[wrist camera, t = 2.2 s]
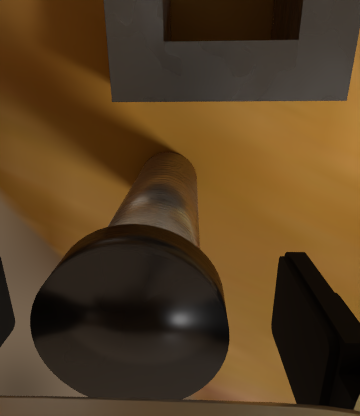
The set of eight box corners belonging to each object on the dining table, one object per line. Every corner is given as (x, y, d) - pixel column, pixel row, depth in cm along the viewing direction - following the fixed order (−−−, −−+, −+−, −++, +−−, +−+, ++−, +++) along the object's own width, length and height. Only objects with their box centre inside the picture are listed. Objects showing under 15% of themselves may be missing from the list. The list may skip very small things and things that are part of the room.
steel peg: (128, 142, 19) (11, 249, 7) (207, 142, 19) (235, 252, 7) (133, 214, 21) (47, 404, 8) (205, 214, 21) (224, 409, 8)
